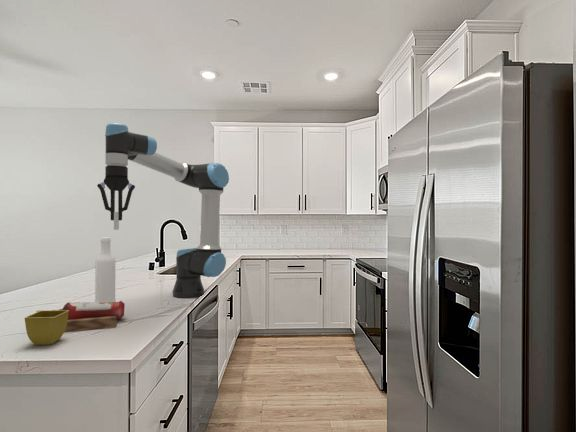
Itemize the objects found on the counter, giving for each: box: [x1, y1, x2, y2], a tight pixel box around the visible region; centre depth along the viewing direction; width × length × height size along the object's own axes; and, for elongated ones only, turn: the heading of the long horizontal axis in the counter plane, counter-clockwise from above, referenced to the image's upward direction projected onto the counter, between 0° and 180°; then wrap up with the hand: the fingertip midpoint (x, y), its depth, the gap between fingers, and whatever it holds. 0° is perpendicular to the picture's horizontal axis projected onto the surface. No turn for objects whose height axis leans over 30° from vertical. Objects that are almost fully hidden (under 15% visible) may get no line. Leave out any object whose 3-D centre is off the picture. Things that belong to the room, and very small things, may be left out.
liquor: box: [35, 300, 125, 320], centre depth 133 cm, size 7×7×28 cm
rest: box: [64, 316, 119, 333], centre depth 131 cm, size 25×15×3 cm, turn 111°
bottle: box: [94, 236, 117, 302], centre depth 156 cm, size 8×8×30 cm
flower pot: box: [24, 309, 69, 346], centre depth 113 cm, size 9×9×9 cm
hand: (116, 229), depth 135 cm, fingers closed
